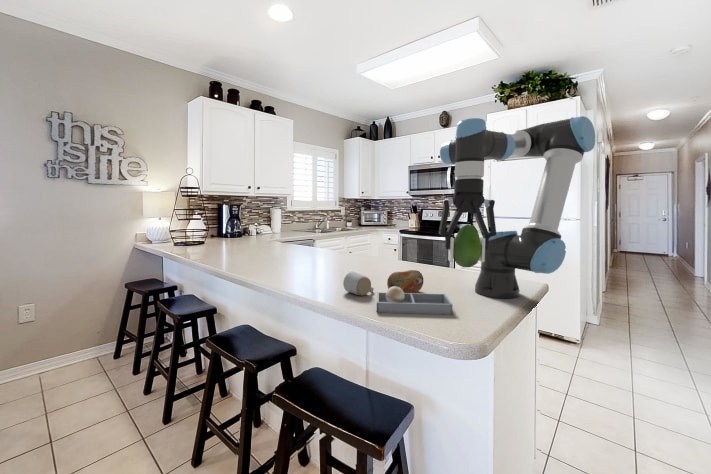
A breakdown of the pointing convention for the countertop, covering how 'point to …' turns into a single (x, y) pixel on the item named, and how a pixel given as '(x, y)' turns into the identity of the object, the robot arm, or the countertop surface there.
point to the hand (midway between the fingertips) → (465, 260)
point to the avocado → (467, 246)
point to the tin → (406, 281)
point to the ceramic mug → (357, 284)
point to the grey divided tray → (416, 304)
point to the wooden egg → (395, 295)
